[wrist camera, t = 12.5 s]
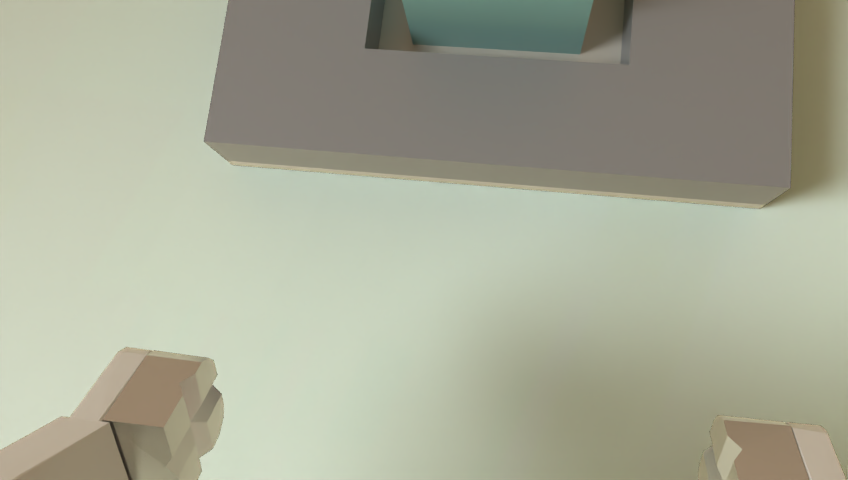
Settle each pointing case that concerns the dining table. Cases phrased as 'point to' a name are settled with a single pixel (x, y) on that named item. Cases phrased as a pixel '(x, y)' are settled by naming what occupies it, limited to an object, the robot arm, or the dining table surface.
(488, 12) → the plug
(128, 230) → the dining table surface
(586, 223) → the dining table surface
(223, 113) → the socket plate
